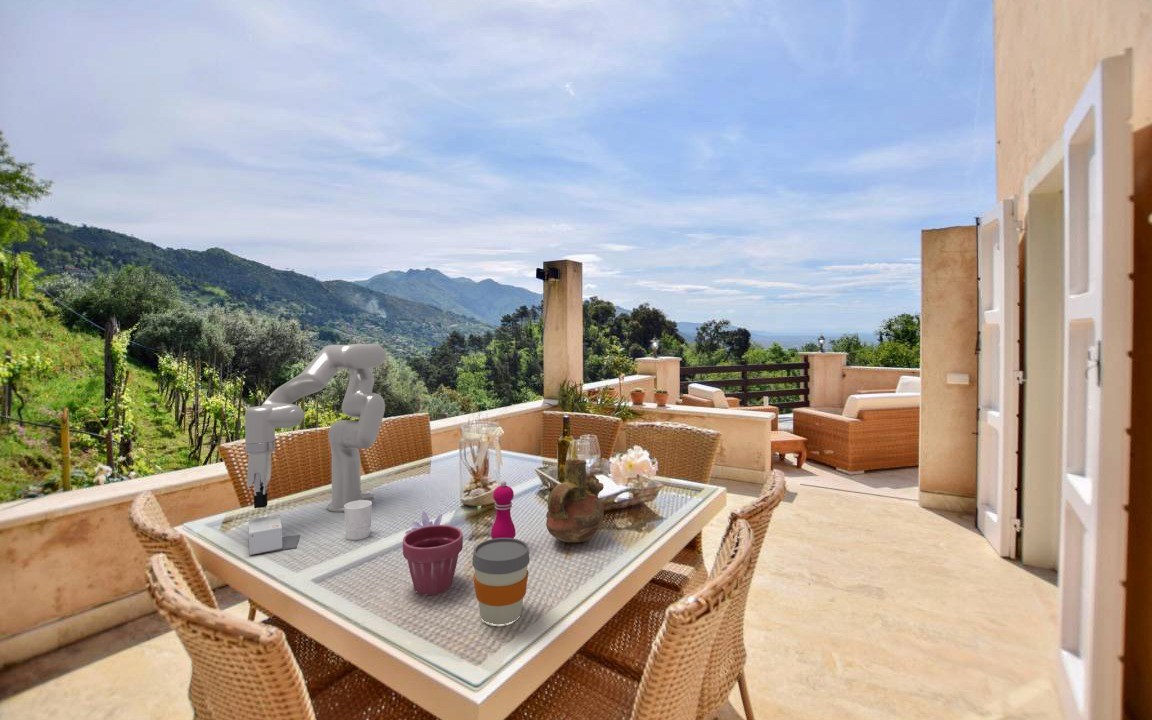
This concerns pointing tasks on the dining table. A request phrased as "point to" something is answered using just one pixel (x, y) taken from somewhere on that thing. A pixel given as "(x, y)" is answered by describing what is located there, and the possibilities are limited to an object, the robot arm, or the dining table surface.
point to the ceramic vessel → (575, 505)
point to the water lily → (424, 522)
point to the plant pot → (432, 557)
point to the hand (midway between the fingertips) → (260, 506)
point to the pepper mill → (503, 512)
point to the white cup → (358, 519)
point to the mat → (287, 543)
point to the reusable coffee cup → (500, 578)
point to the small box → (265, 534)
